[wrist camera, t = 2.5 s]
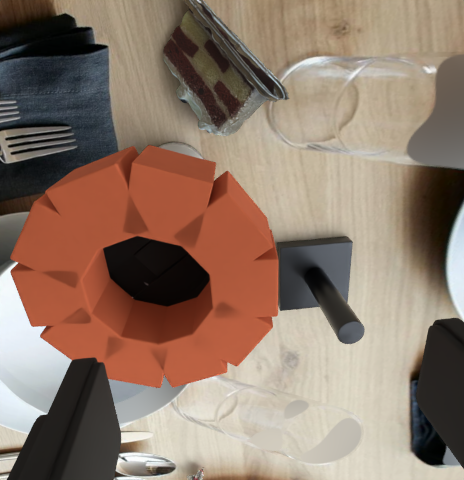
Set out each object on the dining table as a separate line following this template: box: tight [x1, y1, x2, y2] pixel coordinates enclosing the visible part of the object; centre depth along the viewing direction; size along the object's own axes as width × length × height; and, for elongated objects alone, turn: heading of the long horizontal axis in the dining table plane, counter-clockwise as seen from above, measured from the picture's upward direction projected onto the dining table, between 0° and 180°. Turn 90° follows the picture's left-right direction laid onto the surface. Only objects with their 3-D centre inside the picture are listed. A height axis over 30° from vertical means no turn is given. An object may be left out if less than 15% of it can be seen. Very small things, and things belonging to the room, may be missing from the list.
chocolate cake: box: [163, 0, 289, 136], centre depth 31 cm, size 10×7×12 cm
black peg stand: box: [277, 237, 364, 344], centre depth 36 cm, size 8×8×12 cm
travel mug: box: [103, 142, 210, 307], centre depth 26 cm, size 6×7×20 cm
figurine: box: [187, 467, 204, 480], centre depth 51 cm, size 12×4×3 cm
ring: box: [11, 145, 278, 388], centre depth 16 cm, size 11×11×3 cm
